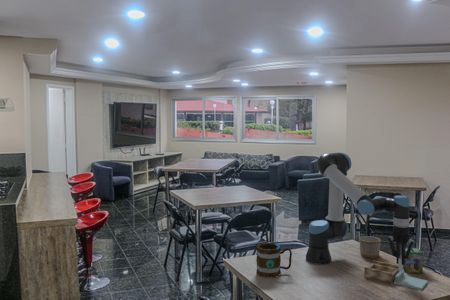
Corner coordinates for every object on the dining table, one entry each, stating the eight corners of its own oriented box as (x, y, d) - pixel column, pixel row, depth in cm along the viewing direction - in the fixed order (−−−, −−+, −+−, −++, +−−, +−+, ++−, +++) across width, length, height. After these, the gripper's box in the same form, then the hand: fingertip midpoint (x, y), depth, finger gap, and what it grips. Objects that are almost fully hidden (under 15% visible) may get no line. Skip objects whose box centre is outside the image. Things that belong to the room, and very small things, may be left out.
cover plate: (394, 284, 198) (394, 276, 198) (400, 277, 207) (401, 269, 207) (421, 291, 190) (421, 283, 190) (427, 283, 199) (427, 275, 199)
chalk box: (422, 273, 211) (423, 247, 210) (404, 272, 214) (404, 245, 213) (419, 267, 220) (419, 242, 219) (401, 266, 223) (402, 241, 222)
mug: (257, 277, 207) (256, 250, 206) (255, 268, 221) (255, 242, 220) (293, 277, 207) (293, 250, 206) (290, 268, 220) (290, 242, 219)
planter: (357, 251, 249) (357, 235, 248) (377, 252, 247) (377, 236, 246) (361, 258, 236) (361, 241, 236) (382, 259, 235) (383, 242, 234)
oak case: (364, 277, 207) (364, 267, 207) (373, 269, 218) (373, 260, 217) (391, 283, 198) (391, 273, 198) (399, 275, 209) (399, 265, 208)
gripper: (385, 225, 201) (385, 269, 203) (412, 229, 193) (412, 275, 194) (390, 222, 207) (389, 265, 209) (416, 226, 199) (415, 271, 200)
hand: (400, 270), depth 202 cm, fingers closed
